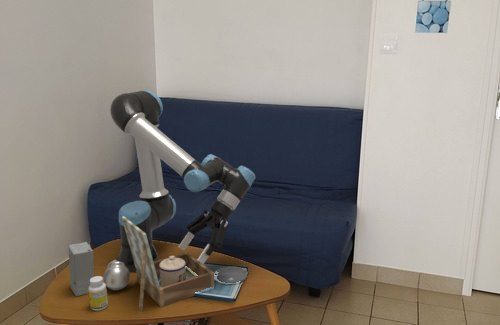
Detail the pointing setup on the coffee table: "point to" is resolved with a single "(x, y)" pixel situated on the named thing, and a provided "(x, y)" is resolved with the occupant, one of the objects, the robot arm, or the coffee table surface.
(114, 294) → the coffee table surface
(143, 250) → the open wooden keepsake box
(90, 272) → the skincare box
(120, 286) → the silver metal rounded piece
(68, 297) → the coffee table surface
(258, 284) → the coffee table surface
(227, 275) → the trivet
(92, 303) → the supplement bottle
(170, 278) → the teacup with lid
